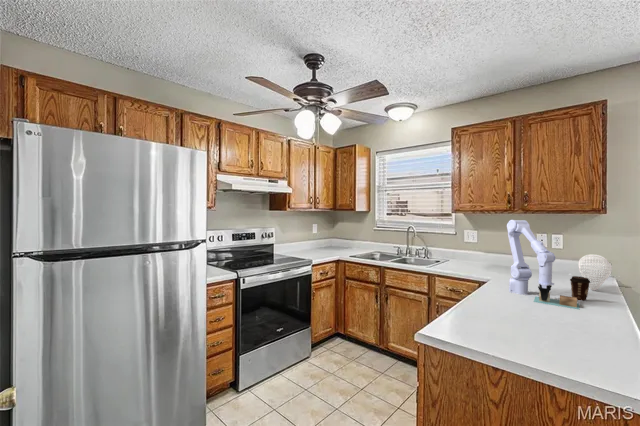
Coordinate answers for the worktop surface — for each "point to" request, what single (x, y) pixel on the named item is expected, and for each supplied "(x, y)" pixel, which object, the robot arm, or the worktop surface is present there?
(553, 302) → the build board
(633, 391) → the worktop surface
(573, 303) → the walnut block
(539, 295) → the maple block
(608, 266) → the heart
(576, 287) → the coffee cup
